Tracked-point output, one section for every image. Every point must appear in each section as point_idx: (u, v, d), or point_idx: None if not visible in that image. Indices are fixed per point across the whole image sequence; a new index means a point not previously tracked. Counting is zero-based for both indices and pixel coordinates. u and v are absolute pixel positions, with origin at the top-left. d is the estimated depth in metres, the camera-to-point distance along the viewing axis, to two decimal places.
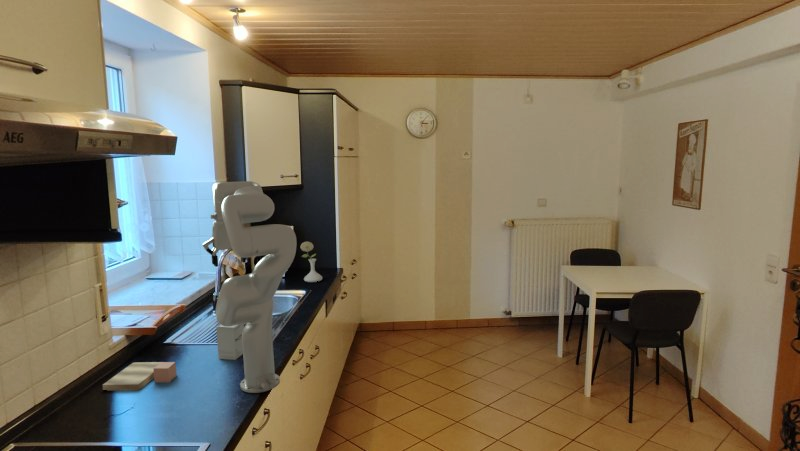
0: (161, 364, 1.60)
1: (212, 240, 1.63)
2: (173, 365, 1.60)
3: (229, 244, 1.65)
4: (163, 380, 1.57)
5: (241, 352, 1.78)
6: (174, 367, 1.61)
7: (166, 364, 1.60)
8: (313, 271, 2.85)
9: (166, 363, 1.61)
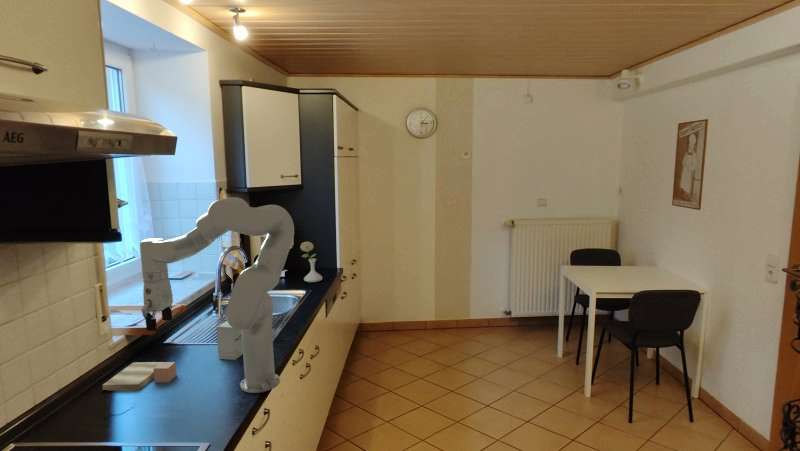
0: (161, 364, 1.60)
1: (150, 303, 1.51)
2: (173, 365, 1.60)
3: (165, 303, 1.56)
4: (163, 380, 1.57)
5: (241, 352, 1.78)
6: (174, 367, 1.61)
7: (166, 364, 1.60)
8: (313, 271, 2.85)
9: (166, 363, 1.61)
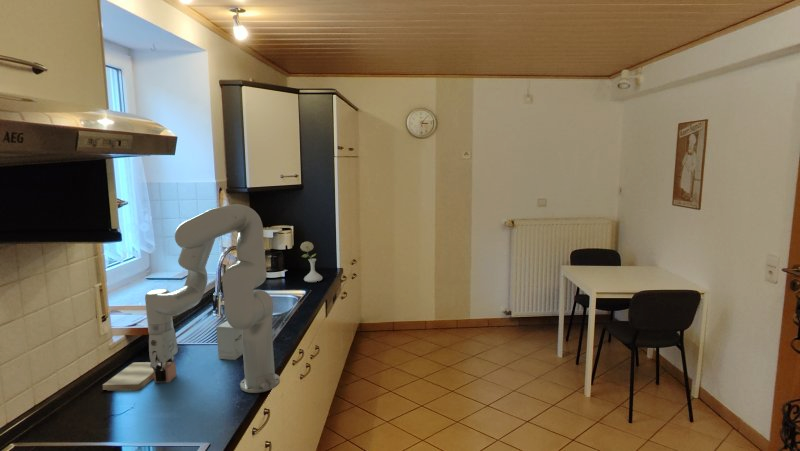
0: None
1: (156, 356, 1.54)
2: (173, 364, 1.60)
3: (170, 353, 1.58)
4: None
5: (241, 352, 1.78)
6: (174, 367, 1.61)
7: (166, 364, 1.60)
8: (313, 271, 2.85)
9: (166, 362, 1.61)
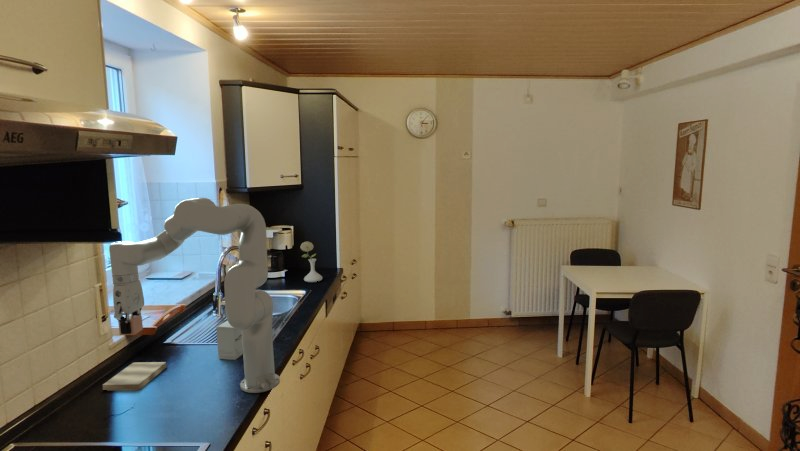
0: None
1: (121, 307, 1.52)
2: (139, 317, 1.59)
3: (136, 306, 1.57)
4: None
5: (241, 352, 1.78)
6: (140, 320, 1.59)
7: (131, 317, 1.58)
8: (313, 271, 2.85)
9: (132, 316, 1.59)
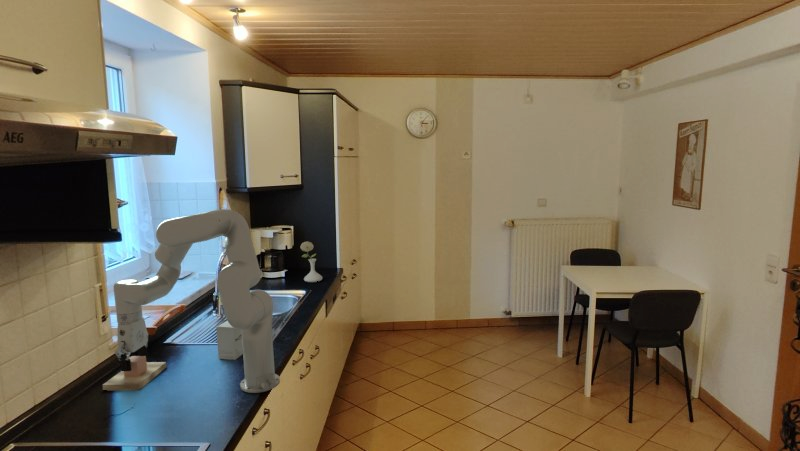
0: (131, 358, 1.60)
1: (124, 344, 1.53)
2: (143, 358, 1.61)
3: (140, 343, 1.58)
4: (132, 374, 1.58)
5: (241, 352, 1.78)
6: (144, 361, 1.61)
7: (136, 358, 1.60)
8: (313, 271, 2.85)
9: (136, 356, 1.61)
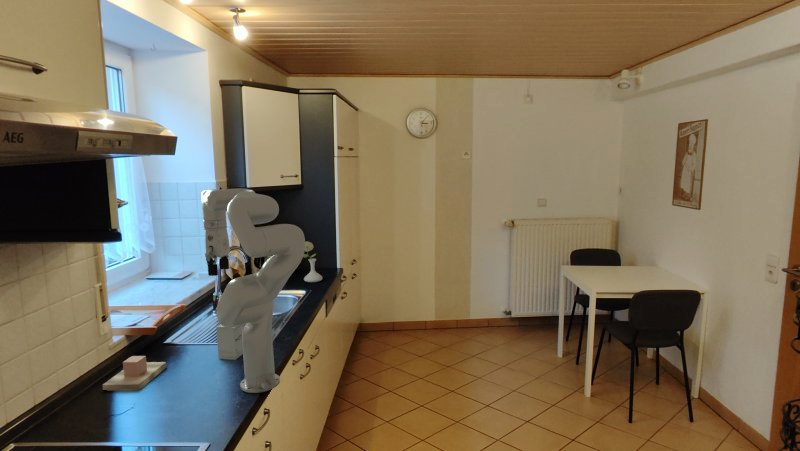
0: (131, 358, 1.60)
1: (212, 249, 1.59)
2: (143, 358, 1.61)
3: (224, 251, 1.65)
4: (132, 374, 1.58)
5: (241, 352, 1.78)
6: (144, 361, 1.61)
7: (136, 358, 1.60)
8: (313, 271, 2.85)
9: (136, 356, 1.61)
